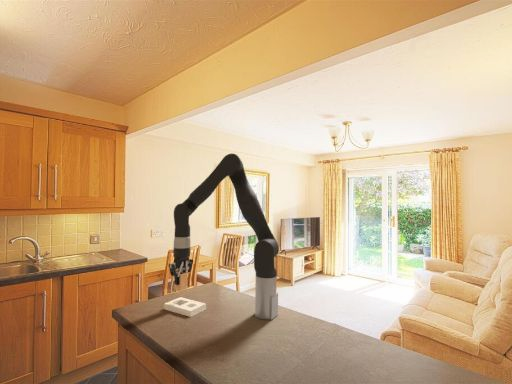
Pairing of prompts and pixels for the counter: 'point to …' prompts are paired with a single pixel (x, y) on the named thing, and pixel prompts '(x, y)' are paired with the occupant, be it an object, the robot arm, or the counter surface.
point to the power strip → (185, 306)
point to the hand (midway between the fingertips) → (180, 283)
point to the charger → (181, 281)
